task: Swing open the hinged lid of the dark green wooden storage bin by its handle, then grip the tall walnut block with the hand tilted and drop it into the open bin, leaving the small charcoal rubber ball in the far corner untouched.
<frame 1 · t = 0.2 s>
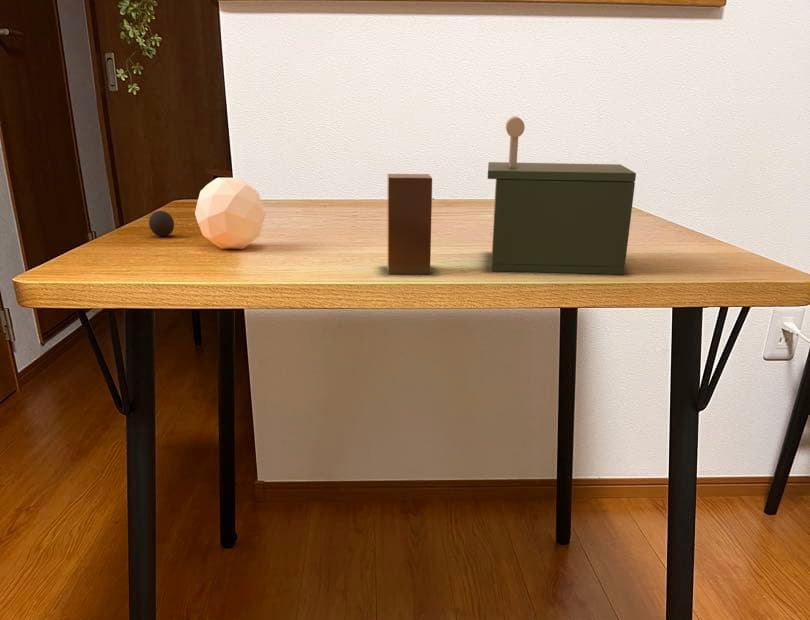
geometric ball: (233, 249, 101), on the table
bin: (554, 263, 95), on the table
block: (408, 270, 90), on the table
bin lid: (559, 146, 89), point 11 cm above the table, hinge at 0.0°
marker ball: (163, 236, 109), on the table
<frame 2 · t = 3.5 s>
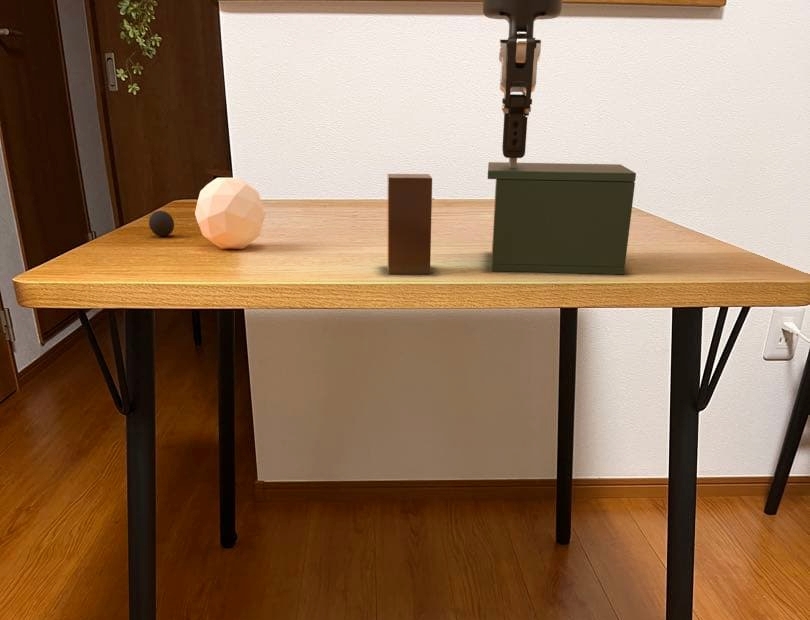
hand: (513, 155, 90), 11 cm above the table, tool pointing down, fingers closed on bin lid, 5 cm apart
bin lid: (559, 147, 89), point 11 cm above the table, hinge at 0.0°, touching gripper
everything else where it was.
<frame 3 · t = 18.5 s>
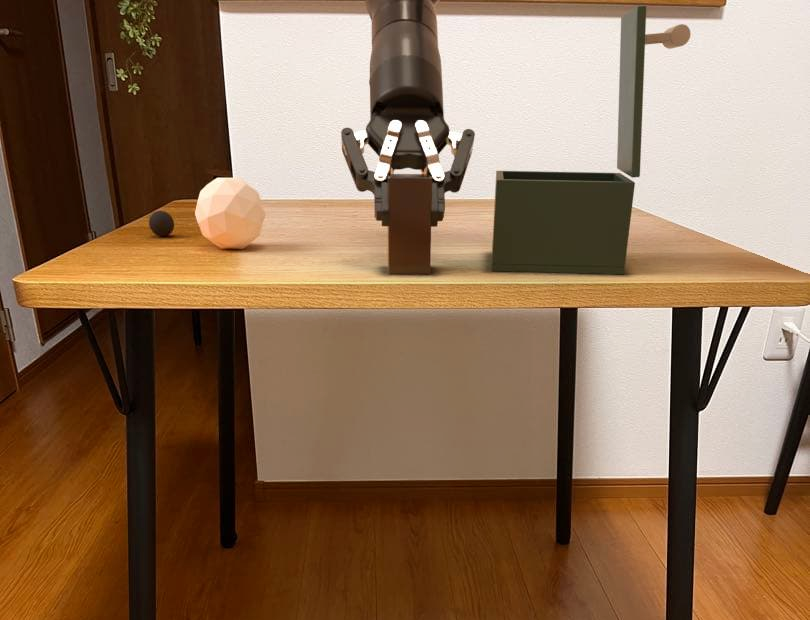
hand: (410, 220, 86), 5 cm above the table, tool tilted 45°, fingers closed on block, 4 cm apart
block: (408, 270, 90), on the table, touching gripper
bin lid: (654, 92, 86), point 16 cm above the table, hinge at 84.9°
everything else where it was.
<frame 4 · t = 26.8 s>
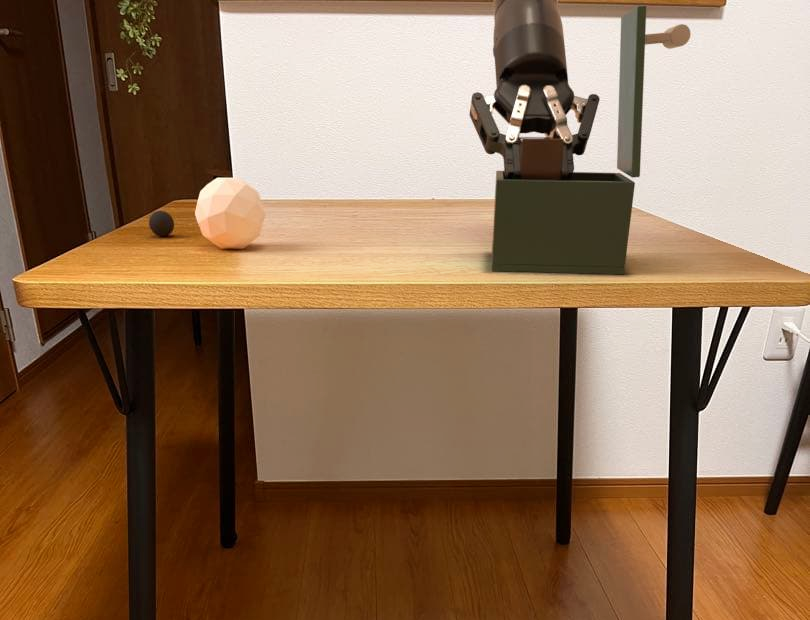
hand: (540, 181, 89), 8 cm above the table, tool tilted 45°, fingers closed on block, 4 cm apart
block: (532, 230, 93), point 3 cm above the table, touching gripper
everything else where it was.
when the fingers open (11 cm above the table, at t = 39.8 s): block drops 6 cm, resting on bin.
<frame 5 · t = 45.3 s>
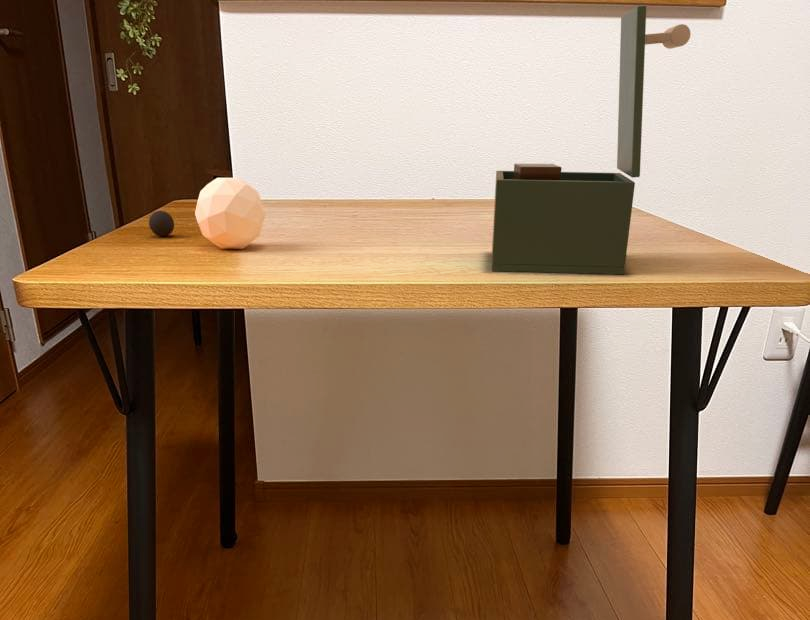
block: (530, 255, 94), point 1 cm above the table, touching bin
everything else where it was.
at the end: bin lid at +85° (first picture: +0°); block inside the target area in the bin (2.5 cm from its centre), point 0.7 cm above the bin's base; marker ball moved 0.0 cm from its start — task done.
